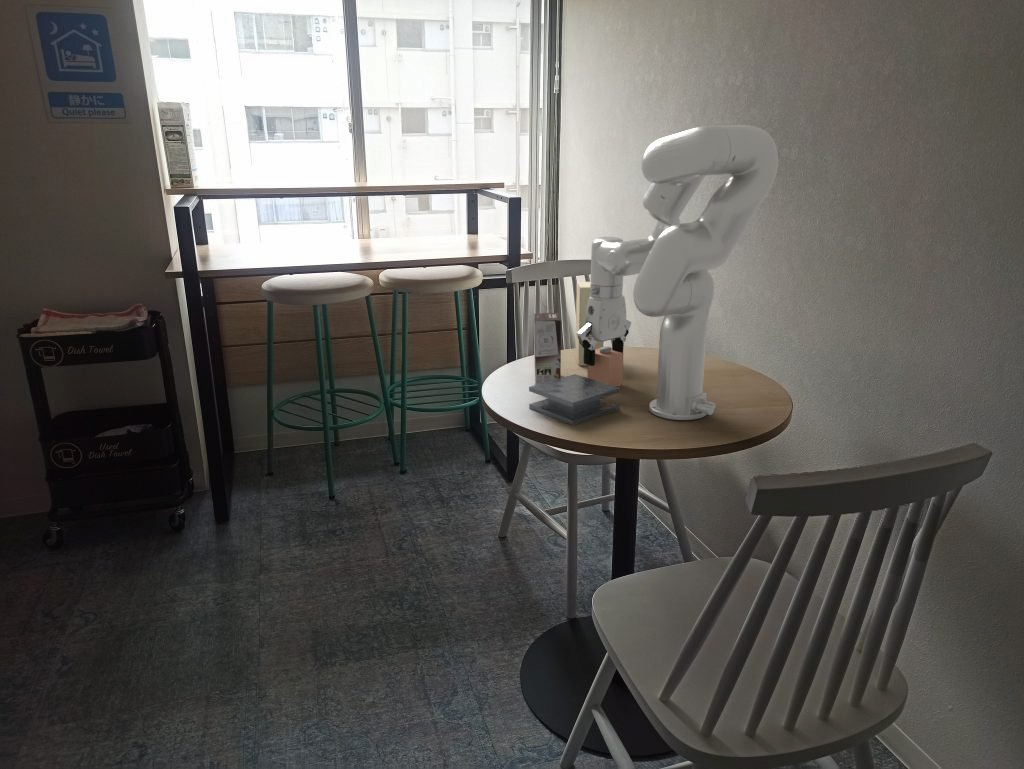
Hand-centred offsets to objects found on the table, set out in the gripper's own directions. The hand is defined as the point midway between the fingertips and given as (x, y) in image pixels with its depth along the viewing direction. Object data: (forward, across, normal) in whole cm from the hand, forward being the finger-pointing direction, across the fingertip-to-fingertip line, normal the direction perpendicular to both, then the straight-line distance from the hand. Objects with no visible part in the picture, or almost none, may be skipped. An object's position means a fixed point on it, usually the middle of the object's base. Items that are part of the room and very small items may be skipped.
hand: (603, 360), depth 175 cm
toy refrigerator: (+6, +11, +15) cm, 20 cm away
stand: (+5, -18, -9) cm, 21 cm away
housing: (+6, 0, -1) cm, 6 cm away
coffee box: (+6, -8, +11) cm, 15 cm away
